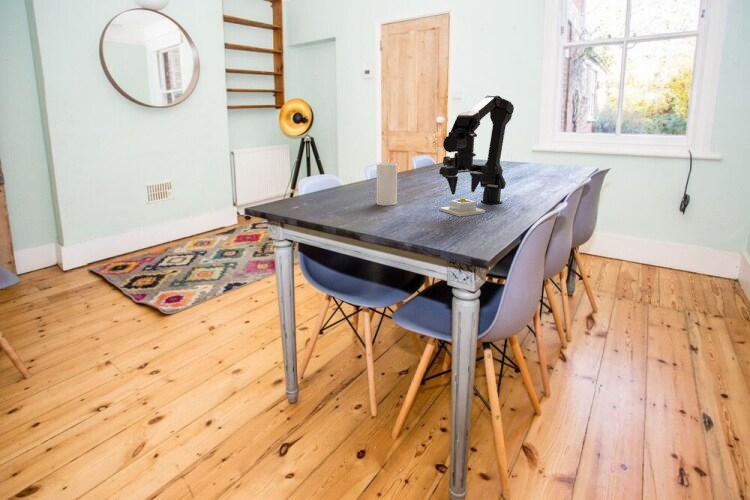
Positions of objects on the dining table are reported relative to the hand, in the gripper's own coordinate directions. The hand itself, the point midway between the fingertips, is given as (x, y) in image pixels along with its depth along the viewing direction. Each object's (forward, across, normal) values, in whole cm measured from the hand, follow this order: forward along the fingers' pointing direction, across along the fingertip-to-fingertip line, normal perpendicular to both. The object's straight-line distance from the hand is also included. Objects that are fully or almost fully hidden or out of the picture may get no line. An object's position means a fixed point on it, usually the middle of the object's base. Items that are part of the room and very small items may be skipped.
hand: (462, 193), depth 169 cm
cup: (+7, +17, -27) cm, 33 cm away
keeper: (+7, 0, 0) cm, 7 cm away
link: (+6, 0, 0) cm, 6 cm away
